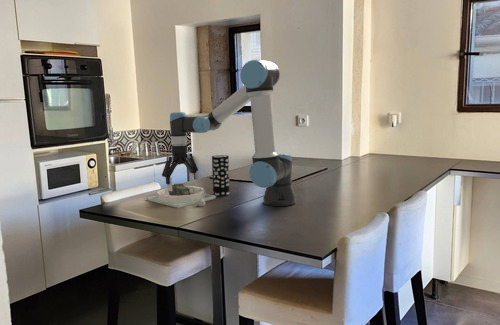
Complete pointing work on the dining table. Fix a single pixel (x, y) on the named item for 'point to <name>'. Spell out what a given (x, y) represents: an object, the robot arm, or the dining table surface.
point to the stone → (179, 190)
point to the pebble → (201, 202)
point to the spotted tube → (220, 175)
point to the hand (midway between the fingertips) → (181, 188)
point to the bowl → (194, 191)
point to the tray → (155, 199)
